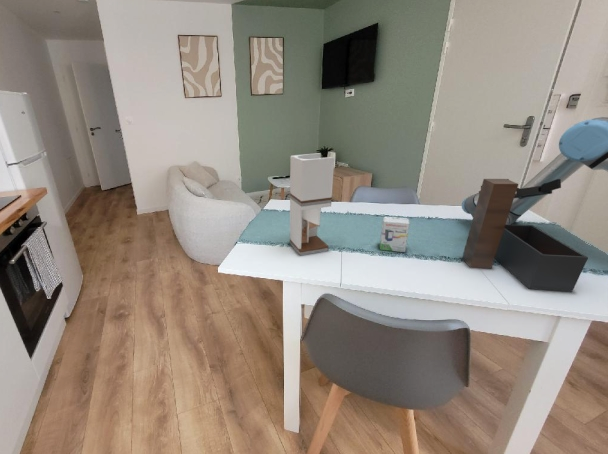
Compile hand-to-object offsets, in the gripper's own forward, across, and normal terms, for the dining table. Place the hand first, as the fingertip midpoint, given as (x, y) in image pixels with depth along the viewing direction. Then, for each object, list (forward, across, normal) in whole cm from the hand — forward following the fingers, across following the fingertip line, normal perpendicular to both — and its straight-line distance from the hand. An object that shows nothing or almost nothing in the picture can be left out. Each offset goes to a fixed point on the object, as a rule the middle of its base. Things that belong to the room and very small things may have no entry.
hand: (533, 183), depth 90 cm
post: (-7, -12, +26) cm, 29 cm away
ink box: (-14, -37, +22) cm, 45 cm away
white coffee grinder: (-12, -68, +23) cm, 73 cm away
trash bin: (-5, 0, +27) cm, 27 cm away
